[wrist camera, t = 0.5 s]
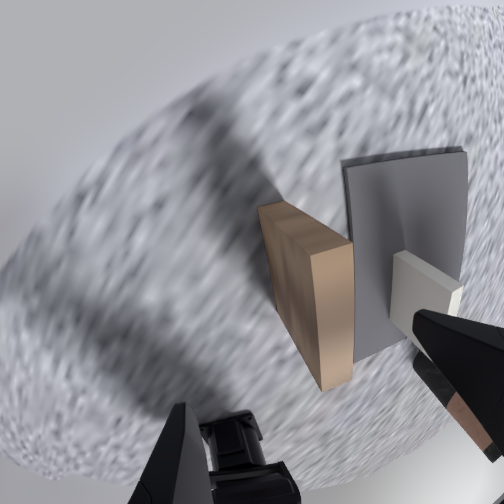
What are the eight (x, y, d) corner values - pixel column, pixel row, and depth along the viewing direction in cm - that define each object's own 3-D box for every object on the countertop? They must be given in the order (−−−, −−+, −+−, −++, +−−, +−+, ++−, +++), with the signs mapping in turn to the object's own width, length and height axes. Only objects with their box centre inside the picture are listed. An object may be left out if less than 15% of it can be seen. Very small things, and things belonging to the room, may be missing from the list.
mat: (450, 308, 29) (452, 310, 29) (351, 360, 27) (353, 363, 27) (463, 151, 21) (466, 151, 21) (343, 167, 19) (346, 168, 19)
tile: (400, 314, 26) (445, 355, 19) (389, 319, 26) (433, 363, 19) (405, 249, 23) (464, 285, 16) (393, 254, 23) (452, 292, 16)
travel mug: (406, 360, 31) (494, 463, 13) (445, 320, 30) (541, 408, 12) (417, 378, 34) (489, 465, 16) (451, 343, 33) (530, 420, 15)
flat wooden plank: (300, 305, 23) (351, 379, 15) (277, 312, 23) (321, 392, 15) (284, 200, 19) (352, 242, 11) (256, 207, 19) (310, 255, 11)
